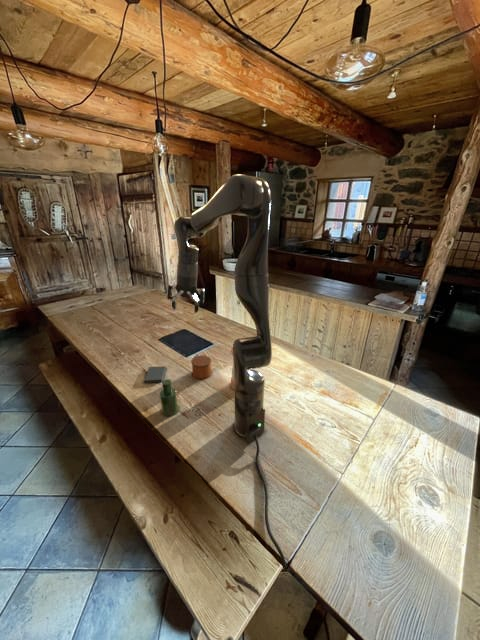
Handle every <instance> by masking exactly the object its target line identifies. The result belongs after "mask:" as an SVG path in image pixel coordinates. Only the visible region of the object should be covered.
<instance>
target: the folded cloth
mask: <svg viewBox="0 0 480 640" xmlns="http://www.w3.org/2000/svg"><path fill="white" fill-rule="evenodd" d="M166 369H167V366H166V365H162V366H149V367H148V370H147V373H146V375H145V377H144V379H143V381H144V384H148V383H149V384H151V383H162V382H163V381H164V376H165V374H166V373H165V372H166Z"/></svg>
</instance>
